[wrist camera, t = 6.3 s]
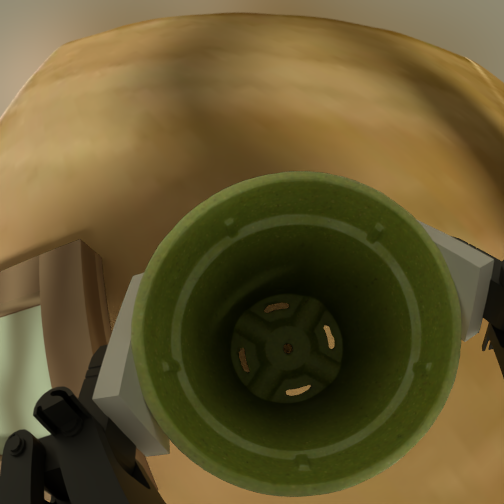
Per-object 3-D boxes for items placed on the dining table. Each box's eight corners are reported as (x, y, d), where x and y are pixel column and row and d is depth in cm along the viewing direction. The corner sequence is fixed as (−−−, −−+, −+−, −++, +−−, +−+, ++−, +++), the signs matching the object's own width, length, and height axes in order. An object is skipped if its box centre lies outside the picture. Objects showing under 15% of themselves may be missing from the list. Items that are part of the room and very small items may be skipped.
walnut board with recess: (101, 257, 19) (80, 239, 16) (158, 490, 13) (141, 507, 10) (-38, 308, 17) (-59, 299, 14) (-10, 474, 11) (-31, 478, 8)
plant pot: (182, 289, 17) (114, 215, 9) (338, 245, 17) (387, 148, 9) (224, 449, 13) (183, 523, 5) (389, 395, 14) (491, 406, 6)
